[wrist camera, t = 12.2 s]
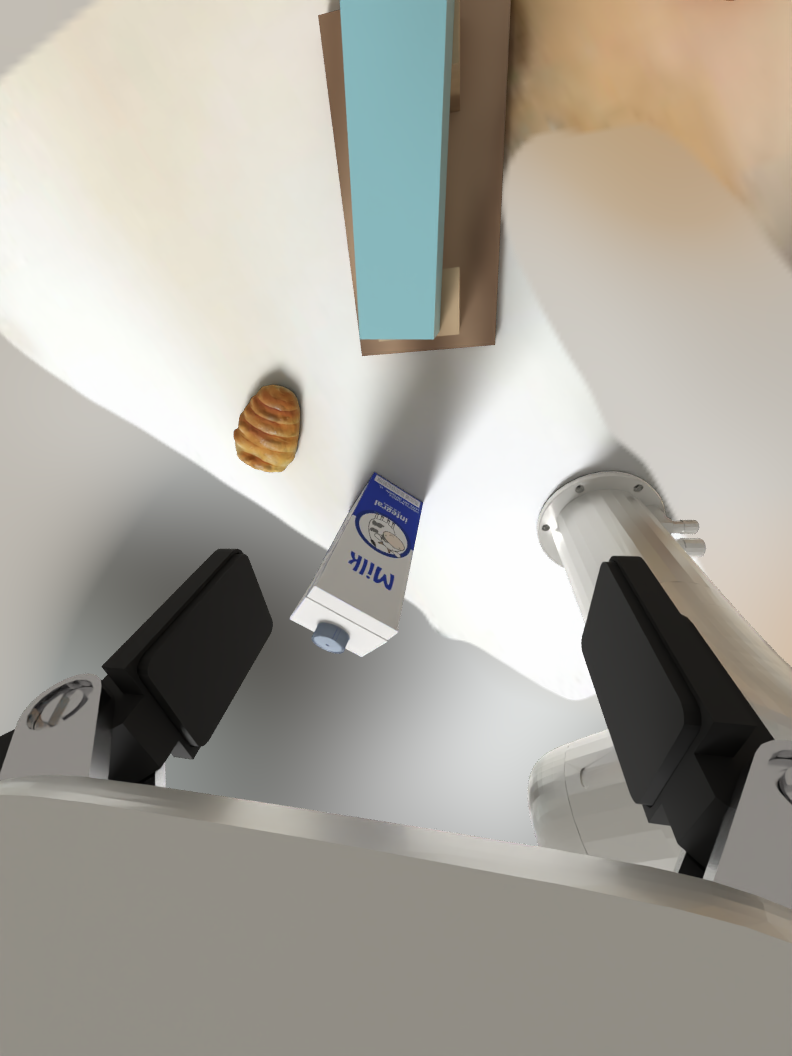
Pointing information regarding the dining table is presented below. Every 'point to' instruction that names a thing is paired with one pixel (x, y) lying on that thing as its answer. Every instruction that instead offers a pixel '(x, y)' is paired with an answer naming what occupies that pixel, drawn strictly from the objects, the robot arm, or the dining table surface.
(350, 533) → the milk carton
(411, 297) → the pale blue rectangular prism
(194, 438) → the dining table surface
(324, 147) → the dining table surface
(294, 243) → the dining table surface
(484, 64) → the display stand
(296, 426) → the pastry
